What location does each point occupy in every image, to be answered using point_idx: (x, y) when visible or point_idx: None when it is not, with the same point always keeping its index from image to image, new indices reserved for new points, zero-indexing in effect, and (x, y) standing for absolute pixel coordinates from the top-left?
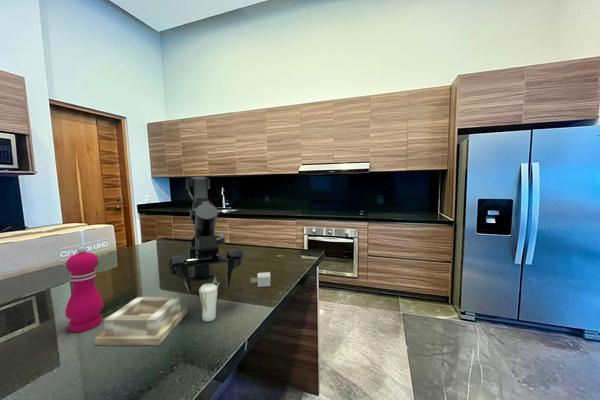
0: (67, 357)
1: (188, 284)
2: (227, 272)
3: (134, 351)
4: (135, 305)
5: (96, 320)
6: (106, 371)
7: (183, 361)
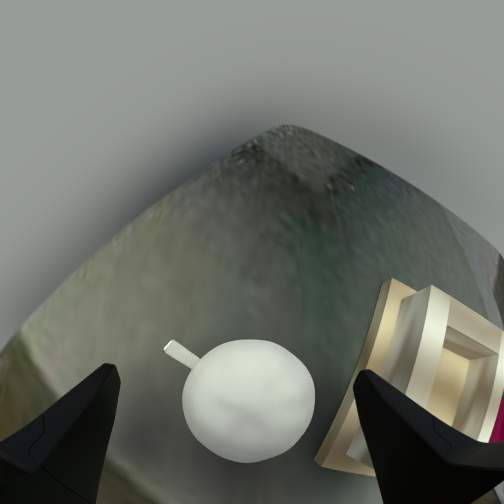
0: (494, 312)
1: (401, 399)
2: (63, 435)
3: (421, 283)
4: (479, 423)
5: (499, 417)
6: (438, 239)
7: (314, 193)
